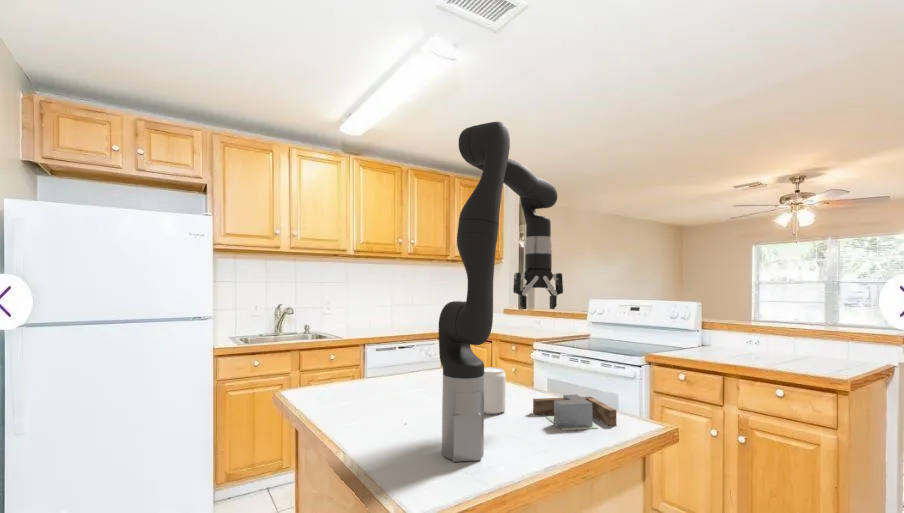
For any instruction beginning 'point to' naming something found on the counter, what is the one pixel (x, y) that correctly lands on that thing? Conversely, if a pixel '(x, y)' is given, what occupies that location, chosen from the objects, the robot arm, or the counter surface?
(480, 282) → the robot arm
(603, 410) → the wooden corner fixture
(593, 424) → the mat
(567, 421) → the bracket
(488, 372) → the beverage can
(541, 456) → the counter surface
